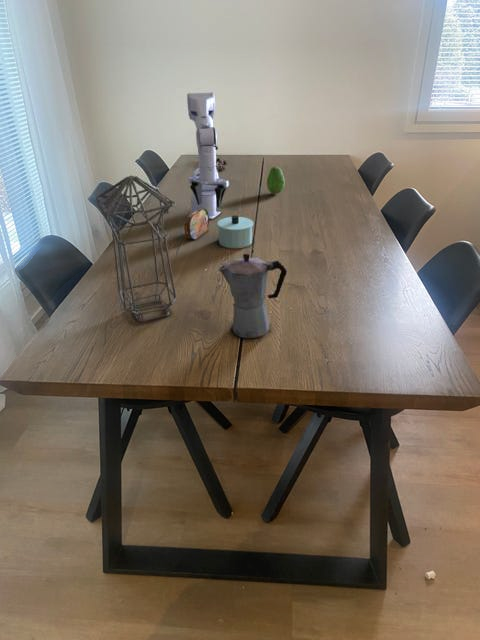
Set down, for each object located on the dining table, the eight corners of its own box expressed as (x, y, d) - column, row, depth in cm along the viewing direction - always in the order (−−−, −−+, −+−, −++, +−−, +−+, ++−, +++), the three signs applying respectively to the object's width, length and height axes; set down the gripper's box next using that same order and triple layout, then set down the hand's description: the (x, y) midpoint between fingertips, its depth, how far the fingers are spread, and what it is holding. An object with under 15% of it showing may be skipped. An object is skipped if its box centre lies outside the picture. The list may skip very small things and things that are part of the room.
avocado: (264, 195, 202) (264, 167, 195) (269, 190, 208) (270, 163, 201) (281, 197, 199) (282, 169, 193) (286, 192, 205) (287, 164, 199)
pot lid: (211, 229, 152) (211, 220, 150) (226, 217, 161) (225, 208, 160) (245, 234, 148) (245, 225, 146) (258, 222, 158) (258, 213, 156)
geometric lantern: (126, 333, 110) (101, 190, 92) (114, 303, 123) (89, 171, 104) (187, 319, 116) (176, 180, 97) (170, 291, 128) (157, 164, 109)
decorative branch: (223, 161, 229) (209, 137, 250) (213, 176, 233) (200, 152, 254) (240, 170, 236) (225, 146, 256) (231, 185, 240) (217, 160, 260)
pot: (213, 245, 155) (213, 227, 152) (227, 233, 164) (226, 216, 161) (244, 250, 152) (244, 232, 148) (256, 238, 160) (256, 220, 157)
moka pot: (220, 320, 115) (217, 246, 104) (280, 316, 116) (283, 244, 105) (221, 341, 107) (219, 264, 96) (286, 338, 108) (290, 261, 97)
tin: (191, 242, 157) (189, 219, 153) (183, 241, 158) (181, 218, 154) (210, 228, 169) (209, 206, 165) (202, 227, 170) (201, 205, 166)
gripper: (183, 167, 153) (186, 206, 161) (222, 171, 149) (223, 211, 156) (192, 162, 159) (195, 200, 166) (230, 165, 154) (231, 205, 161)
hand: (209, 205), depth 162 cm, fingers open, 7 cm apart
